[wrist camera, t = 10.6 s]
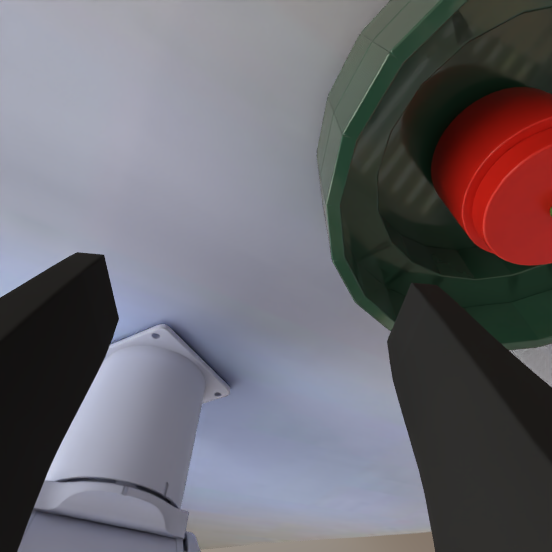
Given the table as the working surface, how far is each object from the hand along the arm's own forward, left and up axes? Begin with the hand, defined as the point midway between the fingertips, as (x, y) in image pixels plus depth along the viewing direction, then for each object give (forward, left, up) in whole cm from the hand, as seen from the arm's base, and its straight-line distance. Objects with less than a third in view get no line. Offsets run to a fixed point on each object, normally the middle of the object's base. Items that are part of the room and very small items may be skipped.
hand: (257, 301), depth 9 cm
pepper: (+9, -4, -9) cm, 13 cm away
